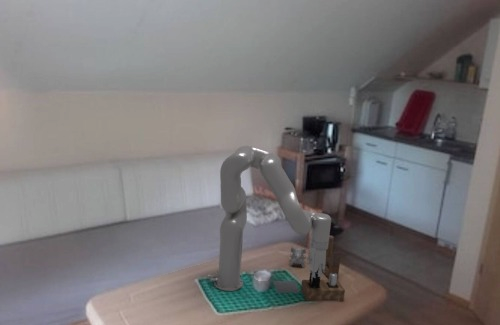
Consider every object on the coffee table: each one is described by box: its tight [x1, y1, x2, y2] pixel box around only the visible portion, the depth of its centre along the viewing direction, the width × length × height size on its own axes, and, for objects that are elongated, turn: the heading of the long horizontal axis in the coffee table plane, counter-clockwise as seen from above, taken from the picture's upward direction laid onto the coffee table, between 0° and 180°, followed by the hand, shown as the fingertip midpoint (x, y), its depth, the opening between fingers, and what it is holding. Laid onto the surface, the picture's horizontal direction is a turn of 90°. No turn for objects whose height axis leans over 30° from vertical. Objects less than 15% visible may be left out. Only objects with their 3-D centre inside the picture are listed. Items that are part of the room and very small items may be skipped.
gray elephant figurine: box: [288, 246, 307, 269], centre depth 216 cm, size 9×12×8 cm
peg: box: [310, 272, 318, 288], centre depth 186 cm, size 3×3×10 cm
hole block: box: [300, 279, 346, 302], centre depth 188 cm, size 16×9×5 cm, turn 98°
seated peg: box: [328, 273, 337, 288], centre depth 188 cm, size 3×3×10 cm
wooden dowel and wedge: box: [322, 234, 342, 281], centre depth 205 cm, size 4×11×18 cm, turn 18°
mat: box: [272, 280, 301, 294], centre depth 193 cm, size 10×10×1 cm
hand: (314, 283), depth 187 cm, fingers closed on peg, 3 cm apart
